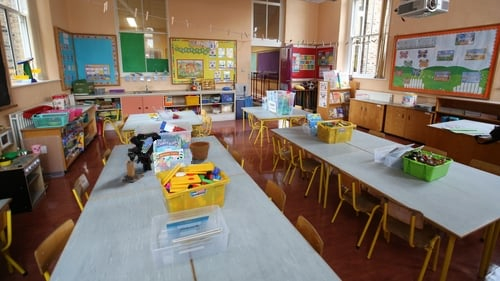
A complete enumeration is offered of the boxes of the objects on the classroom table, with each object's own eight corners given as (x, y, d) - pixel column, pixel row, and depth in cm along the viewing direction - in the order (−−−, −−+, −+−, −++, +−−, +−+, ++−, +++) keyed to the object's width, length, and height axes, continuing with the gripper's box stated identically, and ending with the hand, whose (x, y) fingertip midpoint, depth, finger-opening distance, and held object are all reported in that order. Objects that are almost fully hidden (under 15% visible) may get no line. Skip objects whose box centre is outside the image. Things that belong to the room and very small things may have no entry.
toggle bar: (131, 177, 241) (128, 160, 237) (135, 177, 240) (133, 160, 236) (128, 178, 238) (125, 161, 233) (132, 179, 237) (130, 161, 232)
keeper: (132, 174, 249) (132, 170, 248) (143, 175, 246) (143, 171, 245) (122, 181, 235) (121, 176, 234) (133, 182, 233) (132, 177, 232)
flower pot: (190, 154, 301) (190, 141, 297) (210, 153, 303) (210, 140, 299) (189, 161, 281) (187, 147, 277) (210, 160, 283) (209, 146, 279)
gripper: (124, 144, 245) (119, 161, 240) (138, 143, 235) (132, 161, 230) (135, 148, 254) (130, 165, 249) (148, 147, 244) (143, 165, 239)
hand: (133, 164), depth 241 cm, fingers open, 9 cm apart
